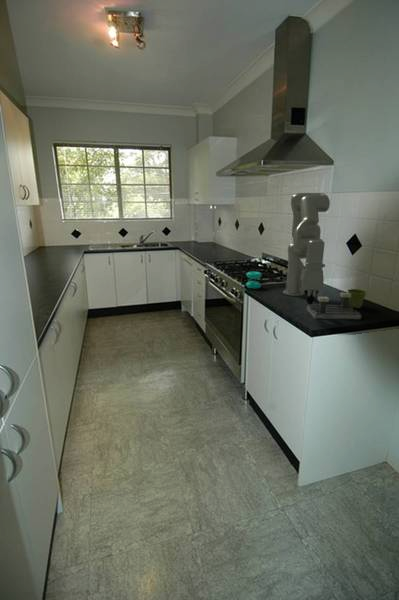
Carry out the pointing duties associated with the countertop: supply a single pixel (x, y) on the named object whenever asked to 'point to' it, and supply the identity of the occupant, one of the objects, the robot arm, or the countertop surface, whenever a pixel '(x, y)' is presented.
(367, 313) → the countertop surface
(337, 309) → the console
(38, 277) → the countertop surface
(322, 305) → the fader knob
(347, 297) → the white striped slider handle
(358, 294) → the plant pot
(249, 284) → the teal spool
